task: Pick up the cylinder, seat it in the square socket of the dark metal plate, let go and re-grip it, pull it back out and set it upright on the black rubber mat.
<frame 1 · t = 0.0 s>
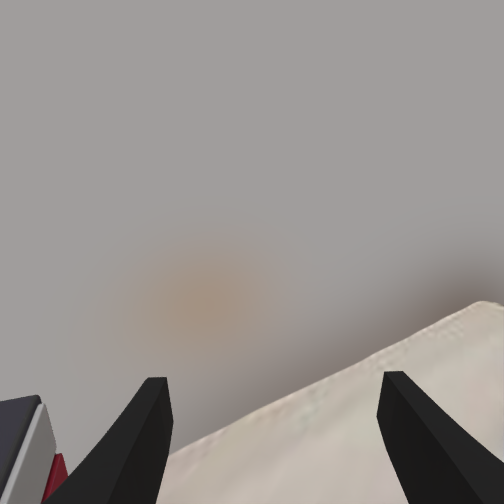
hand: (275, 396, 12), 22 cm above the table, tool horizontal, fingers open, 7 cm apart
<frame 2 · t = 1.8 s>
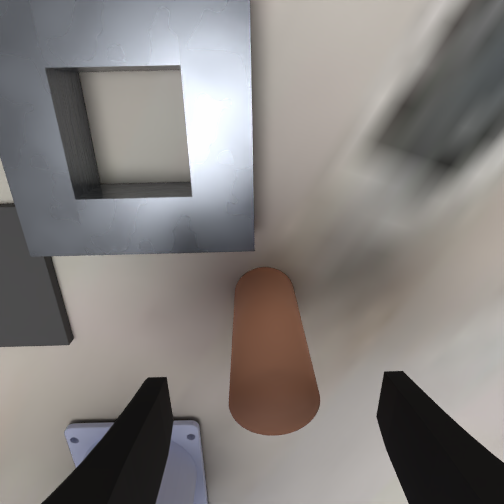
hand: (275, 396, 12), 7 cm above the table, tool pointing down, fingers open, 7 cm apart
chuck plate: (143, 130, 15), on the table
cylinder: (264, 293, 18), on the table
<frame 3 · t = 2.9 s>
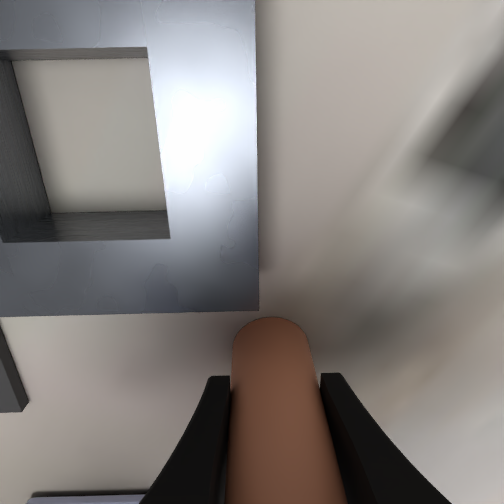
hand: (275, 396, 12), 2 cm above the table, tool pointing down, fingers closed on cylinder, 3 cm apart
chuck plate: (105, 141, 11), on the table
cylinder: (270, 348, 14), on the table, touching gripper
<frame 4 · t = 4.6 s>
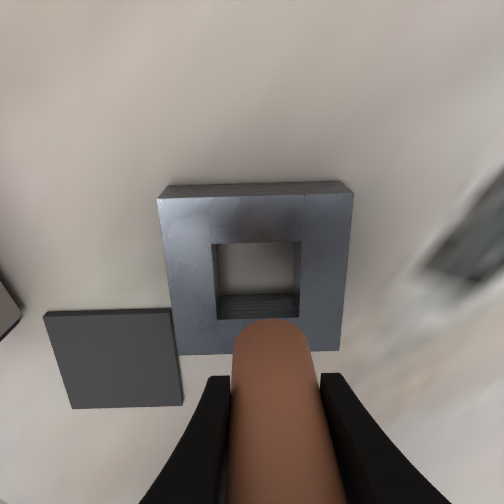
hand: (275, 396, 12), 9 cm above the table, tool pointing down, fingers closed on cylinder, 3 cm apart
chuck plate: (256, 261, 20), on the table
cylinder: (270, 350, 14), point 7 cm above the table, touching gripper
mat: (119, 358, 23), on the table
when the fingers open (3 cm above the table, at t = 6.4 s): cylinder drops 1 cm, resting in chuck plate.
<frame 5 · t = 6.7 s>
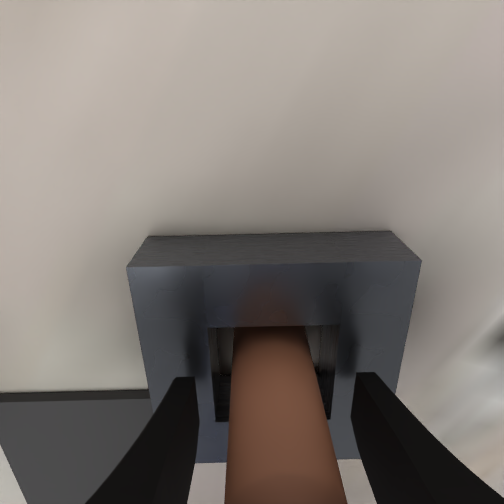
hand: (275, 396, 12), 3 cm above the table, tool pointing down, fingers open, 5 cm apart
chuck plate: (269, 333, 15), on the table
cylinder: (269, 333, 15), resting in chuck plate
mat: (88, 448, 18), on the table
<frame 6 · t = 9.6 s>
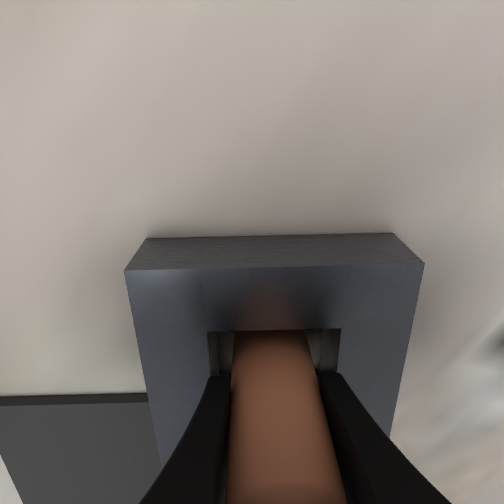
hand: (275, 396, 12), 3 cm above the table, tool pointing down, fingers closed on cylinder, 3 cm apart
chuck plate: (269, 336, 15), on the table
cylinder: (269, 337, 15), resting in chuck plate, touching gripper
mat: (87, 452, 17), on the table
when the fingers open (5 cm above the table, at t = 13.1 s): cylinder stays where it is, resting on mat.
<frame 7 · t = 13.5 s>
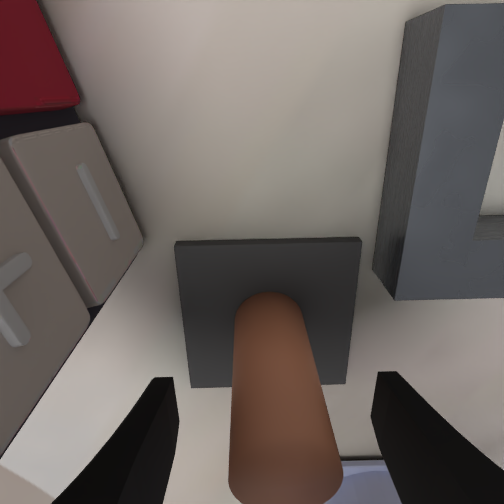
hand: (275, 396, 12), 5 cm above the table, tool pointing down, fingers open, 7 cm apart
cylinder: (268, 321, 16), point 1 cm above the table, touching mat
mat: (267, 315, 16), on the table
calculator: (47, 127, 13), on the table
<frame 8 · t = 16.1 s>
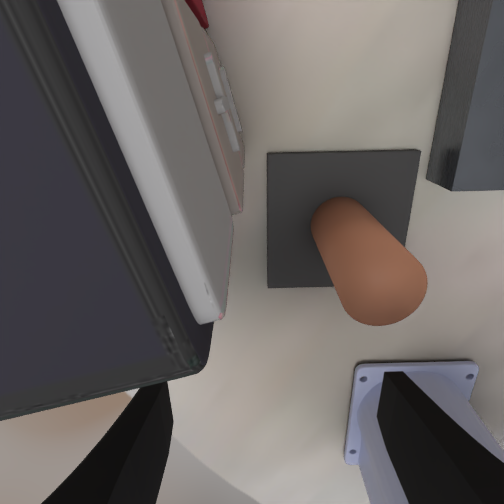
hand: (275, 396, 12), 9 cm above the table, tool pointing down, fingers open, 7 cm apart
cylinder: (338, 224, 19), point 1 cm above the table, touching mat
mat: (336, 222, 19), on the table
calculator: (173, 52, 16), on the table
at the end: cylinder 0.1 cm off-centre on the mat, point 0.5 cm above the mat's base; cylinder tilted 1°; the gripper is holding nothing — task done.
